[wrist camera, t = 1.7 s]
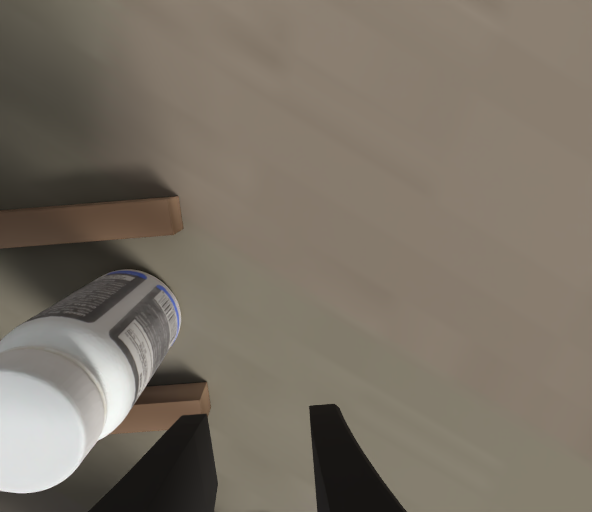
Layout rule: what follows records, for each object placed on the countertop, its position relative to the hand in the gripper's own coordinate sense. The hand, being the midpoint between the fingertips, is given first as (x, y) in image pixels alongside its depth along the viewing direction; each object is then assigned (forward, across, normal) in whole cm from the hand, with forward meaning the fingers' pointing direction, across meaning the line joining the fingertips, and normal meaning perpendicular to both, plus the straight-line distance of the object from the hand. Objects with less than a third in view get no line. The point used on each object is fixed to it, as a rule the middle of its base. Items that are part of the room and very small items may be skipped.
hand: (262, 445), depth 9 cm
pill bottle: (+10, +7, 0) cm, 12 cm away
